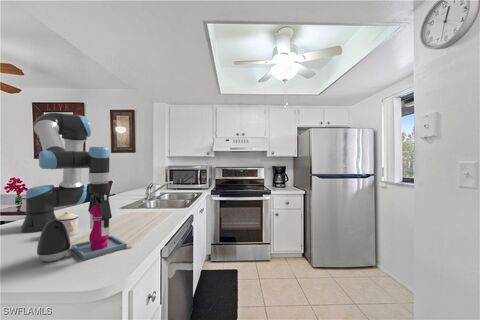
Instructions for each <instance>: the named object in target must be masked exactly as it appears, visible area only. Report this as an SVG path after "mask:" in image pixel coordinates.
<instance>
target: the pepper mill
mask: <svg viewBox="0 0 480 320" xmlns="http://www.w3.org/2000/svg"><path fill="white" fill-rule="evenodd" d="M91 214H92V215H93V217H92V218H93V219H92V220H93V222H94V224H93V229H91V231H90V234H89V238H88V239H89V240H88V241H90V242H92V243H91V249H93V250H98V249H103V248H105V247H107V246H108V241H106V240H107V239H108V238H109V236H110V234H109V235H105V236H101V218H102V215H101V212H100V208H99V206H97V205H95V206H93V207H92V209H91Z"/></svg>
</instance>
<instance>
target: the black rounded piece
mask: <svg viewBox="0 0 480 320" xmlns="http://www.w3.org/2000/svg"><path fill="white" fill-rule="evenodd" d="M39 235H40V236H39V238H38V243H37V248H36V254H37V255H38V258H39V259H40V260H41V261H43V262H55V261H59V260H61V259H63V258H64V257H65V256H67V255H68V253H69V250H70V248H72V243H71V239H70V237H71V236H69V234H68V231H67V229H66V227H65V225H64V224H63V222H62V221H60V220H52V221H49V222H48V223H47V224H46V225H45V227H44V228H43V230H42V231H40V234H39Z"/></svg>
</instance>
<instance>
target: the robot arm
mask: <svg viewBox="0 0 480 320" xmlns="http://www.w3.org/2000/svg"><path fill="white" fill-rule="evenodd" d="M33 130H34V133H35V134H36V135H37V136H38V138H39V142H40V145H41V148H42V150H40V151H39V152H38V153H39V154H38V166H39V168H40V169H42V170H58V169H59V170H62V171H63V172H62V180H61V181H60V182H59V184H58V186H55V185H54V184H45V185H39V186H38V185H37V186H34V187H30V188H28V189H27V190H26V191H25V217H24V220H23V222H22V224H21V232H23V233H38V232H42V230H43V228H44V227H45V225H46V224H47V223H48V222H49V221H52V220H56V218H57V216H56V214H55V208H59V207H60V208H61V207H70V206H77V205H81V204H83V203H85V201H86V198H87V189H88V192H89V193H90V198H89V205H88V212H89V214H90V216H89V217H90V218H89V223H90V224H89V227H90V229H89V230H92V229H93V224H94V222H93V220H92V219H93V218H92V217H93V215H92V214H91V209H92V207H93V206H95V205H97V206H99V208H100V212H101V215H102V218H101V236H105V235H109V236H110V220H111V219H113V217H112V210H111V205H110V199H109V197H110V196H109V194H106V192H109V191H110V183H109V182H110V177H111V174H110V157H111V156H110V155H111V154H110V148H109V147H107V146H90V147H89V148H88V151H84V143H85V142H86V141H88V138H90V137H91V135H92V126H91V121H90V119H89V118H88V117H87V116H83V115H79V114H69V113H62V112H61V113H60V112H47V113H45V114H42V115H40V116H38V117H37V118H36V119H35V120H34V123H33ZM62 140H63V141H64V143H63V141H62ZM82 169H88V182H89V183H88V188H87V186H86V185H85V184H84V182H83V181H82Z"/></svg>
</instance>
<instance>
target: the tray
mask: <svg viewBox="0 0 480 320" xmlns="http://www.w3.org/2000/svg"><path fill="white" fill-rule="evenodd" d="M106 241H108V246H107V247H105V248H103V249H98V250H93V249H91V243H92V242H90V240H87V241H83V242H78V243H75V244H71V251H73V253H75V255H77V257H79V259H81V260H82V261H83V262H85V261H87V260H91V259H94V258H95V259H96V258H98V257H101V256H104V255H108V254H112V253H115V252H118V251H121V250H125V249H128V248H127V247H128V246H127V245H128V243H126V242H125V241H123V240H121V239H119V238H118V237H115V236H114V235H112V234H111V235H109V238H108V239H107V240H106Z"/></svg>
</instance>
